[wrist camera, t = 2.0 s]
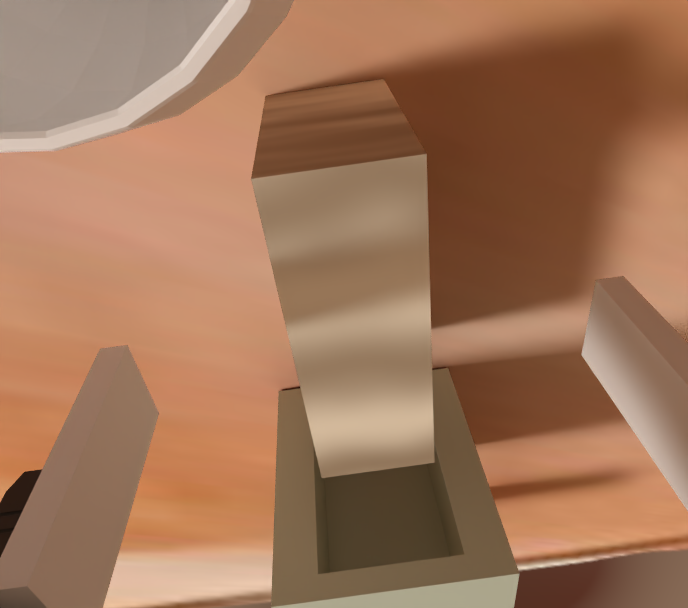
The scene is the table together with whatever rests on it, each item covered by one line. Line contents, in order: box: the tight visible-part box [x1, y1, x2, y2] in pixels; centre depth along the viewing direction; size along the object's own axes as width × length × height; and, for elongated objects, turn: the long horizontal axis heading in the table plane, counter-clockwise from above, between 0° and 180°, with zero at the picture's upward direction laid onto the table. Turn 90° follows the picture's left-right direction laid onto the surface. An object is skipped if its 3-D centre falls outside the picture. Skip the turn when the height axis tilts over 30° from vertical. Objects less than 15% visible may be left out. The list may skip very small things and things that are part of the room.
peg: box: [251, 79, 435, 478], centre depth 23 cm, size 14×5×9 cm, turn 7°
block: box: [271, 368, 519, 608], centre depth 29 cm, size 8×10×12 cm
